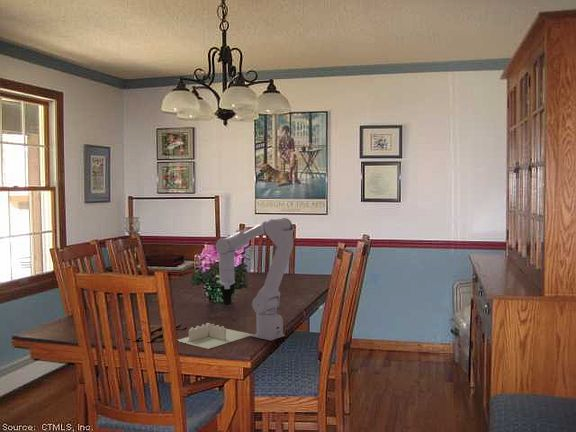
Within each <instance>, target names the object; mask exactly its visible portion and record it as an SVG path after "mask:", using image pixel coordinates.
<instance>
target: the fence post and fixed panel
mask: <svg viewBox="0 0 576 432" xmlns="http://www.w3.org/2000/svg"><path fill="white" fill-rule="evenodd" d="M210 325H211V323H210V322H207V323H205V324H201V326H200V325H196V326H195V328H194V327H190V329H188V337H189V341H194V340H197V339H201V338H204V337H207V336H210Z"/></svg>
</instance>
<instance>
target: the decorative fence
mask: <svg viewBox="0 0 576 432" xmlns="http://www.w3.org/2000/svg"><path fill="white" fill-rule="evenodd" d="M175 324H176V328H177V330H176V331H184V330H186V329H188V327H187V326H182V324H179V323H175ZM161 325H162V324H152V325H149V328H150V327H151V329H150V330H151V334H152V336H151V337H152V341H154V342H153V343H162V342H161V341H163V338H164V337H163V336H162V331H163V329H162V326H161ZM160 330H162V331H160ZM141 331H142V330H139V331H137V333H138V334H139V335H138V336H137V339H138V340H139V339H141V334H140V333H141ZM162 337H163V338H162ZM155 341H156V342H155ZM163 342H164V341H163Z"/></svg>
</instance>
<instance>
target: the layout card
mask: <svg viewBox="0 0 576 432" xmlns="http://www.w3.org/2000/svg"><path fill="white" fill-rule="evenodd" d="M225 329H226V340H222V339H218V338H214V337H210V336H207V337H204V338H201V339H197V340H194V341H189V336H187V337H186V336H185V337H182V338H179V339H177V340H178V341H179V342H178V343H181V342H182V343H183V344H185V343H186V345H191V346H192V347H197V348H201V349H204V350H210V349H213V348H217V347H219V346H220V347H221V346H223V345H227V344H230V343H232V342H236V341H238V340H243V339H245V338H248V337H252V335H254V334H255V333H254V334H252V333H248V332H245V331H244V332H243V331H239V330H234V329H230V328H225Z"/></svg>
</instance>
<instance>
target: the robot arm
mask: <svg viewBox="0 0 576 432" xmlns="http://www.w3.org/2000/svg"><path fill="white" fill-rule="evenodd" d="M294 230H295V227H294V226H293V223H292V221H291V220H290V219H289V218H286V217H283V218H275V219H272V218H271V219H268V220H265V221H262V222H260V223H258V224H257V225H255V226H253V227H252V228H250V229H248V230H245V229H244V230H243V229H242V230H241V229H237V230H236V231H235V233H232V234H228V235H226V238H224V237H223V238H221V237H220V238H219V239H218V240H217V241H216V242H215V249H216V251H217V253H218V256H219V257H218V266H219V269H218V270H219V280H216V282H215V283H216V284H220V285H219V290H220V292H221V294H222V298H223V303H224V304H223V305H225V306H230V305H231V302H232V296H233V293H234V290H235V289H236V288H235V283H236V280H235V255H236V251H237V250H238V249H240V248H243V247H244V246H246V245H248V244H249V243H250V241H251V239H255V238H257V237H258V236H261V235H267V236H268V238H269V239H270V240H271V241H272V243H274V245H275V247H276V249H275V252H274V255H273V258H272V261H271V263H270V266H269V269H268V272H267V275H266V279H265V280H264V285H263V286H262V287H261V288H260V289H259V290H258V292H257V294H256V296H255V297H253V300H252V302H251V306H252V309H253V310H254V312H255V314H256V315H255V316H256V333H254V335H252V336H251V338H252V337H253V338H256V339H257V338H258V339H262V340H267V341H274V340H277V339H279V338H283V337H285V334H284V321H283V317H282V315H280V314H278V313H277V308H278V307H280V303H281V302H280V301H281V299H280V297H281V292H280V290H279V288H280V286H281V283H282V279H283V277H284V273H285V271H286V269H287V266H288V263H289V261H290V258H291V254H292V251H293V249H294V235H293V233H294Z"/></svg>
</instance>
